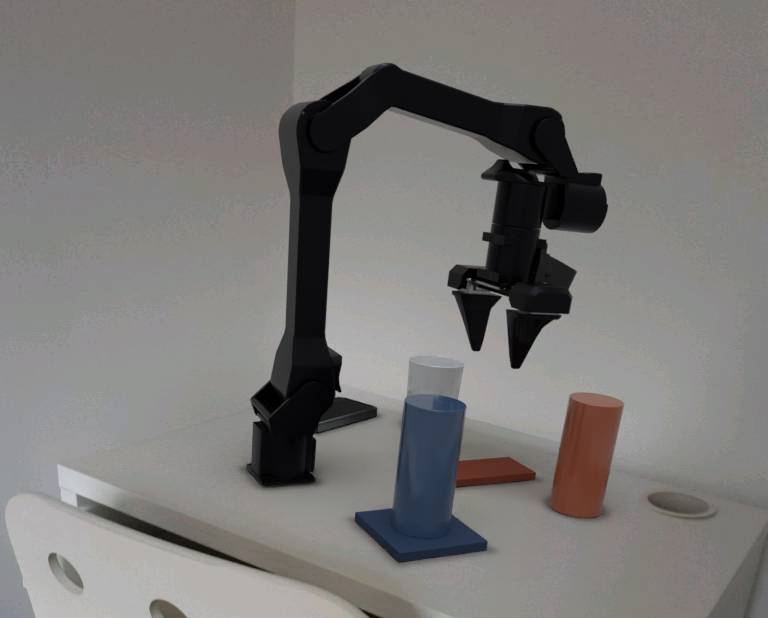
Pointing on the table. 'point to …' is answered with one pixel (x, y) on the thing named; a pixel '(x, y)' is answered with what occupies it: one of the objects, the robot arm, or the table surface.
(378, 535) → the blue mat
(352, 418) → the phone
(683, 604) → the table surface
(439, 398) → the blue cylinder
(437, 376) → the white cup
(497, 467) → the terracotta mat
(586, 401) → the terracotta cylinder
